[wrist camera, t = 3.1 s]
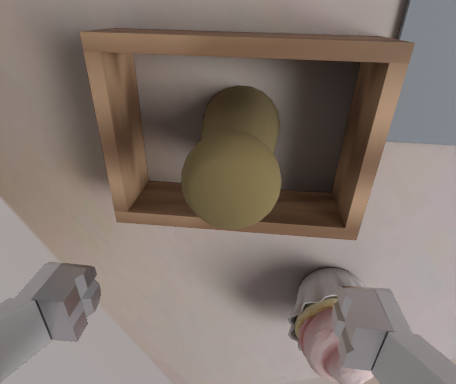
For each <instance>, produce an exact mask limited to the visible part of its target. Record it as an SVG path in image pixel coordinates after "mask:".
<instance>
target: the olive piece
mask: <svg viewBox="0 0 456 384" xmlns="http://www.w3.org/2000/svg"><path fill="white" fill-rule="evenodd" d="M279 127H280V120H279V115H278V110H277V109H276V107H275V105H274V103H273V101H272V100H271V99H270V98H269V97H268V96H267V95H265V94H264V93H263V92H262V91H259V90H257V89H255V88H253V87H248V86H235V87H231V88H227V89H224V90H223V91H221V92H220V93H218V94H217V95H215V96H214V97H213V99H212V100H211V101H210V102H209V104H208V105H207V108H206V110H205V113H204V116H203V125H202V134H201V141H200V142H198V143H197V145H196V146H195V147H194V148H193V149H192V151H191V152H190V153H189V154H188V156H187V158H186V161H185V163H184V166H183V169H182V192H183V195H184V197H185V200H186V203H187V204H188V205H189V207H190V208H191V209H192V210H193V212H194V213H195V214H196V215H197V216H198V217H199V218H201V219H202V220H203V221H205V222H206V223H208V224H210V225H213V226H216V227H218V228H224V229H239V228H246V227H248V226H250V225H252V224H255V223H257V222H259V221H261V220H262V219H263V218H264V217H265V216H266V215H267V214H269V213H270V212H271V210H272V209H273V207H274V205H275V203H276V202H277V200H278V197H279V194H280V189H281V183H282V180H281V174H280V169H279V164H278V161H277V159H276V158H275V156H274V150H275V146H276V142H277V138H278V133H279Z"/></svg>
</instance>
